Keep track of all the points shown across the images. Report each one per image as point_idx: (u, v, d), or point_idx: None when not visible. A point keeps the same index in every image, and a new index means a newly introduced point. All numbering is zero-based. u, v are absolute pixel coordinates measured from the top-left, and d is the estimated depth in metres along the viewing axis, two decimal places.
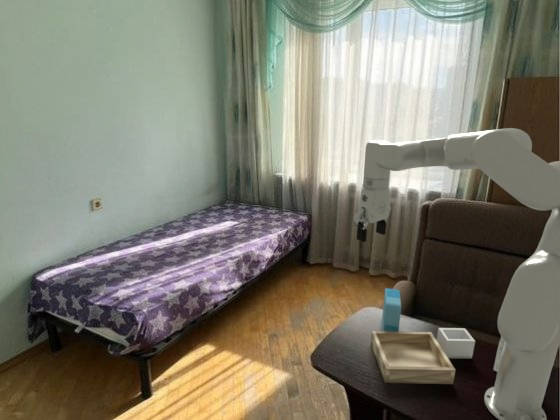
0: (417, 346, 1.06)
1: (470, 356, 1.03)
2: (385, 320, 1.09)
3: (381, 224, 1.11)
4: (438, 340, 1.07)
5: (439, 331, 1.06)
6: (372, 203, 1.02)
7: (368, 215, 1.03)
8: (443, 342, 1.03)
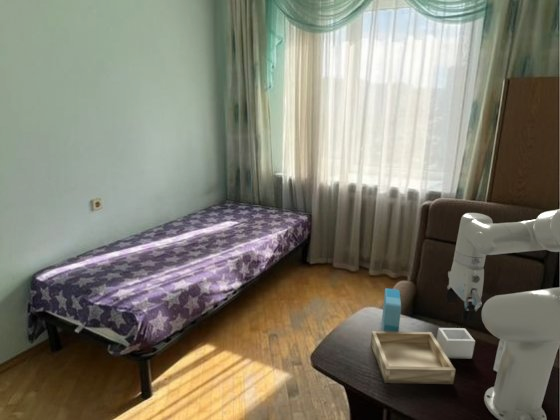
0: (417, 346, 1.06)
1: (470, 356, 1.03)
2: (385, 320, 1.09)
3: (454, 293, 1.06)
4: (438, 340, 1.07)
5: (439, 331, 1.06)
6: None
7: (480, 295, 0.95)
8: (443, 342, 1.03)
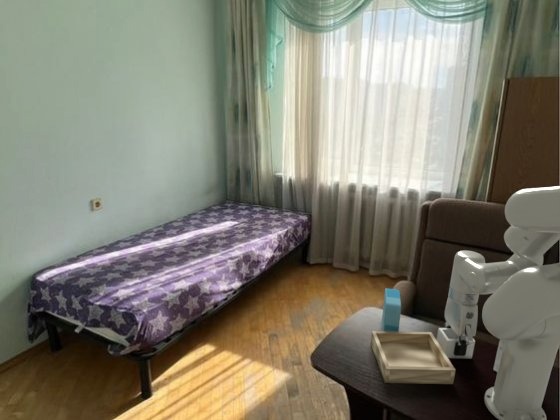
0: (417, 346, 1.06)
1: (470, 356, 1.03)
2: (385, 320, 1.09)
3: None
4: (438, 340, 1.07)
5: (439, 331, 1.06)
6: None
7: (474, 330, 0.98)
8: (443, 342, 1.03)
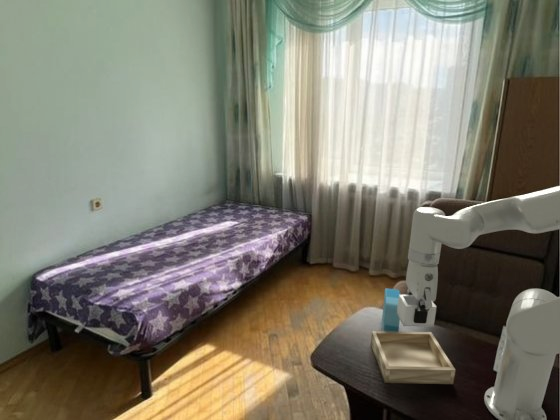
0: (417, 346, 1.06)
1: (432, 324, 0.94)
2: (385, 320, 1.09)
3: None
4: (398, 308, 0.98)
5: (399, 298, 0.98)
6: (437, 280, 0.89)
7: (434, 294, 0.89)
8: (402, 308, 0.95)
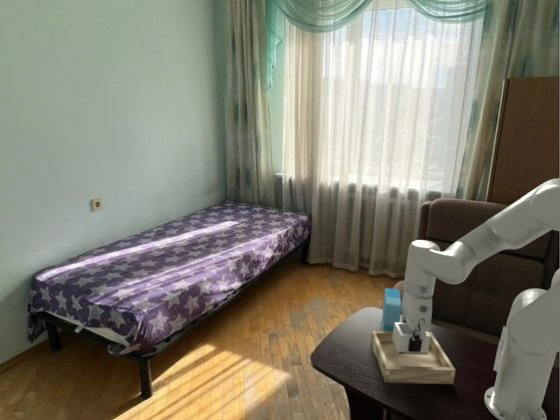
0: None
1: (425, 352, 0.97)
2: (385, 320, 1.09)
3: None
4: (394, 335, 1.01)
5: (395, 326, 1.00)
6: (431, 312, 0.92)
7: (428, 325, 0.92)
8: (398, 337, 0.98)
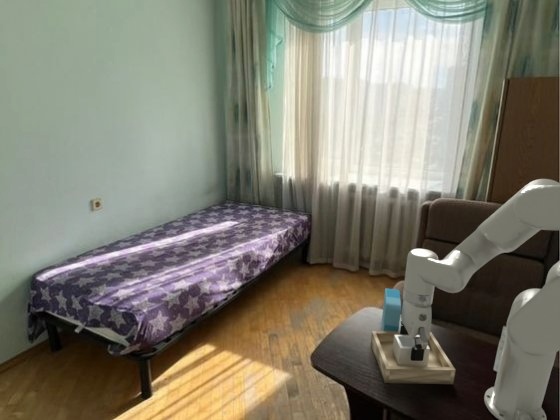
0: None
1: (425, 364, 0.98)
2: (385, 320, 1.09)
3: None
4: (394, 347, 1.02)
5: (395, 338, 1.01)
6: None
7: (428, 333, 0.92)
8: (397, 349, 0.99)
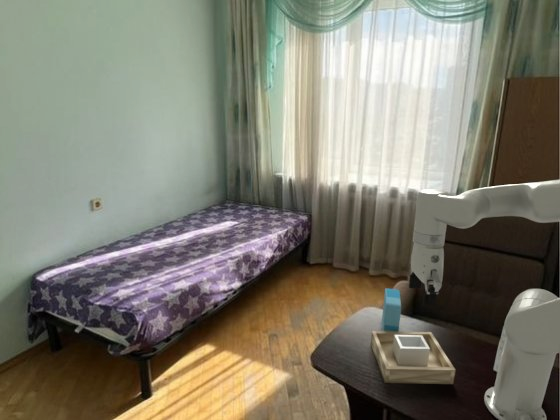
0: None
1: (425, 364, 0.98)
2: (385, 320, 1.09)
3: (417, 278, 0.99)
4: (394, 347, 1.02)
5: (395, 338, 1.01)
6: (443, 262, 0.88)
7: (440, 276, 0.88)
8: (397, 349, 0.99)
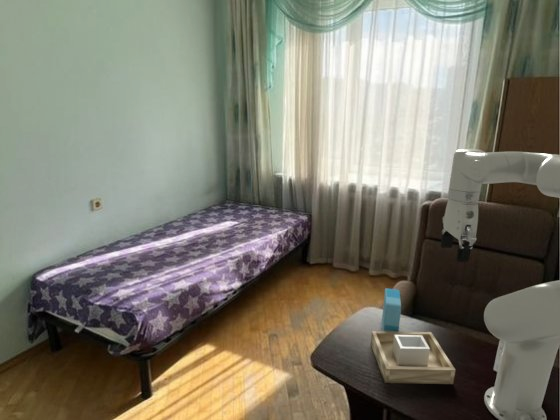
0: None
1: (425, 364, 0.98)
2: (385, 320, 1.09)
3: (449, 237, 1.03)
4: (394, 347, 1.02)
5: (395, 338, 1.01)
6: None
7: (474, 232, 0.93)
8: (397, 349, 0.99)
